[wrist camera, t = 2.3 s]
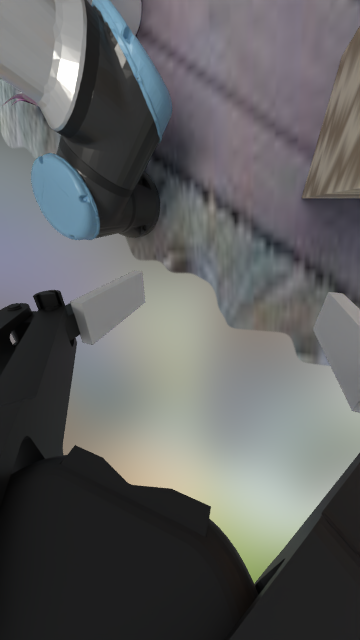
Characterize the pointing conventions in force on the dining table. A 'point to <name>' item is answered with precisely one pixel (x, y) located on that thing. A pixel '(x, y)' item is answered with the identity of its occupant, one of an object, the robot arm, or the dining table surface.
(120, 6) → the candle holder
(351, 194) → the pedestal
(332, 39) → the dining table surface
